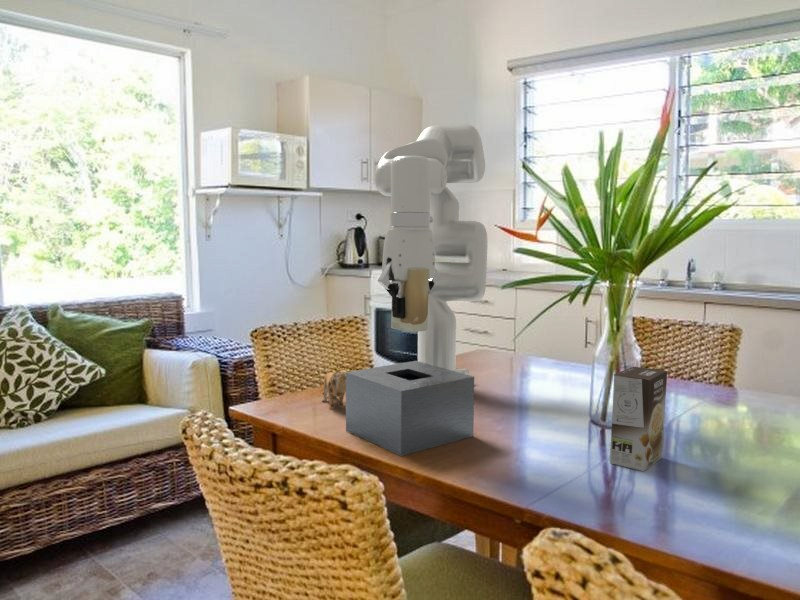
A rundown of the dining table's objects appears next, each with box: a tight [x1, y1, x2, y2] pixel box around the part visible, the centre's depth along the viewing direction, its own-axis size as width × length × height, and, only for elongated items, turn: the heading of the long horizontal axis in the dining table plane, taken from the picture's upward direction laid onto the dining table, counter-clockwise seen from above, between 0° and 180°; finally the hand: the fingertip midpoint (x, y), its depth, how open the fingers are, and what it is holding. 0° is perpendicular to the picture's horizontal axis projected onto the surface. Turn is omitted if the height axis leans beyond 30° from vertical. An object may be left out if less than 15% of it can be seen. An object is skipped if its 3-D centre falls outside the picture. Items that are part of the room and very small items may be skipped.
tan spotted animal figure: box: [321, 369, 348, 410], centre depth 154 cm, size 15×5×9 cm, turn 28°
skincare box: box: [390, 268, 429, 333], centre depth 130 cm, size 6×4×12 cm
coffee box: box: [609, 366, 668, 472], centre depth 118 cm, size 9×6×16 cm
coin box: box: [345, 360, 475, 457], centre depth 133 cm, size 18×18×12 cm
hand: (409, 315), depth 131 cm, fingers closed on skincare box, 4 cm apart
